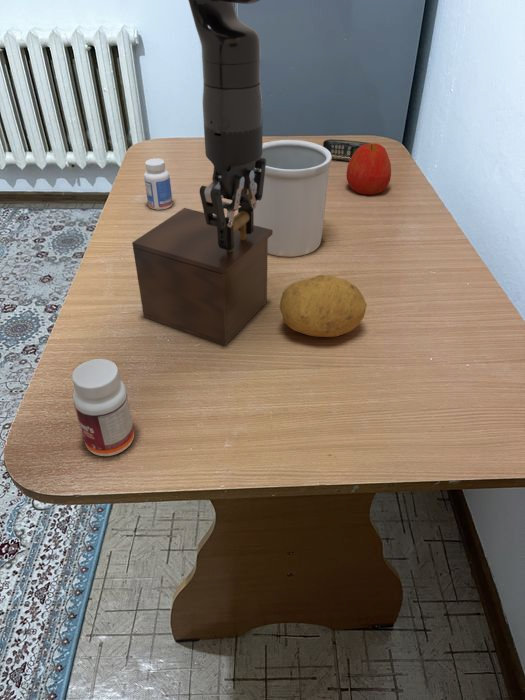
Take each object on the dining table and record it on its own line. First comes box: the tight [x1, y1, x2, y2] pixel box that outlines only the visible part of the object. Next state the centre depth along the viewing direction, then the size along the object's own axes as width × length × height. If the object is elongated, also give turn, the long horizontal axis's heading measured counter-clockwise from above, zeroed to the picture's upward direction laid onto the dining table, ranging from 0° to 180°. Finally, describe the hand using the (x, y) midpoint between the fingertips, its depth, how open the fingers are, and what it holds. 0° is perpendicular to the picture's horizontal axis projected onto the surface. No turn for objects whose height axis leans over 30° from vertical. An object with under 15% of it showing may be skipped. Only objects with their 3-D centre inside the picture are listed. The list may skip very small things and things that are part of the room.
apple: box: [345, 143, 392, 195], centre depth 129 cm, size 10×10×10 cm
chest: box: [132, 239, 269, 347], centre depth 90 cm, size 16×14×13 cm
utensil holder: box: [253, 139, 333, 258], centre depth 107 cm, size 15×15×18 cm
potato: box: [279, 274, 367, 338], centre depth 87 cm, size 10×13×9 cm
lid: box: [131, 207, 272, 275], centre depth 84 cm, size 16×14×5 cm
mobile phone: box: [322, 138, 373, 162], centre depth 145 cm, size 5×3×15 cm
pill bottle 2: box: [143, 157, 173, 211], centre depth 122 cm, size 6×5×10 cm
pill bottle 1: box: [71, 358, 135, 457], centre depth 68 cm, size 6×6×11 cm
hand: (236, 239), depth 82 cm, fingers closed on lid, 5 cm apart
